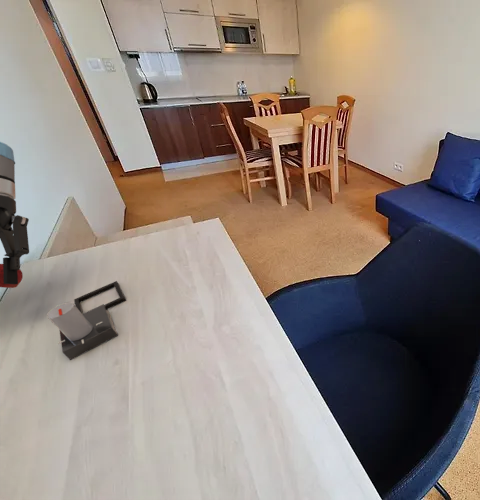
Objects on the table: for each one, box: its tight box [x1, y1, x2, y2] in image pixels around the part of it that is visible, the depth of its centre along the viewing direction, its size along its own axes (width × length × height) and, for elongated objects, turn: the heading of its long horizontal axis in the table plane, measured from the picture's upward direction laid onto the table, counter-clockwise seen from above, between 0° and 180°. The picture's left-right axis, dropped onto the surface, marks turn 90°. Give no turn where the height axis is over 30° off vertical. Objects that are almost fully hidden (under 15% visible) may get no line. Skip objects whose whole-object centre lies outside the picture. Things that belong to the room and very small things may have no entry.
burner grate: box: [73, 280, 127, 314], centre depth 88 cm, size 11×11×1 cm
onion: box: [0, 263, 24, 289], centre depth 77 cm, size 6×6×8 cm
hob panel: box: [56, 304, 119, 361], centre depth 77 cm, size 13×11×3 cm
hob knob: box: [46, 301, 93, 341], centre depth 72 cm, size 5×5×8 cm
